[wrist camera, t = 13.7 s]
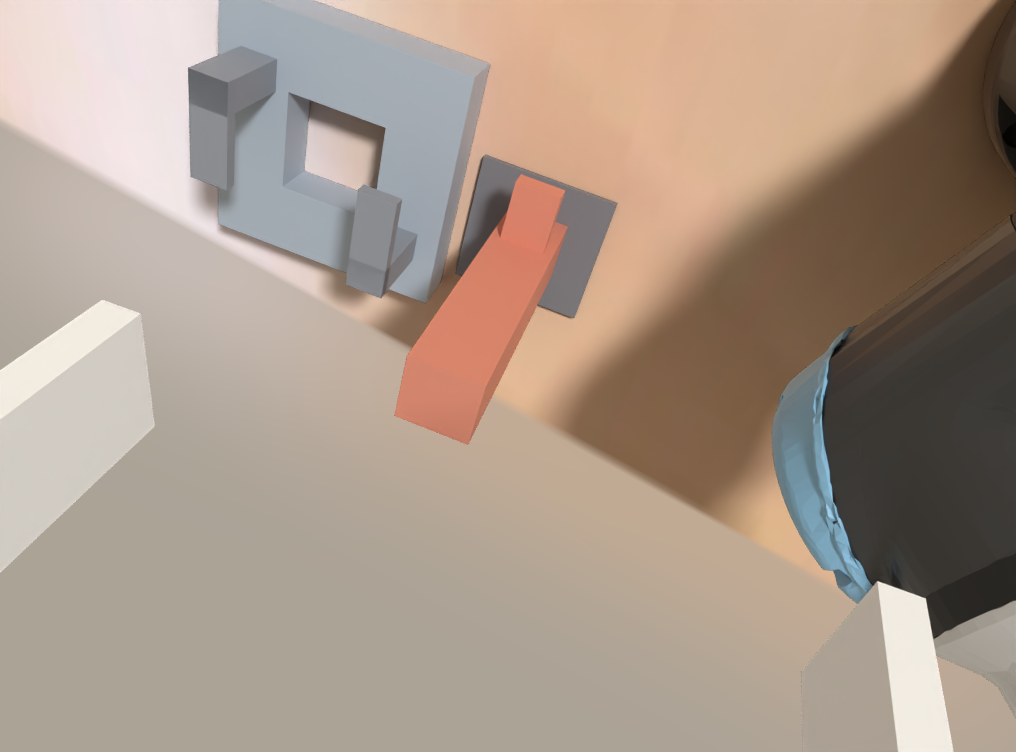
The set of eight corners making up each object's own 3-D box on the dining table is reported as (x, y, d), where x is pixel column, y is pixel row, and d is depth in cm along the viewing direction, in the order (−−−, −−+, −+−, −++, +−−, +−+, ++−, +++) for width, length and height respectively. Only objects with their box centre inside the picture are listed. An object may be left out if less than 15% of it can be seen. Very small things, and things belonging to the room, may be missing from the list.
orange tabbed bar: (526, 151, 47) (420, 290, 33) (586, 173, 47) (505, 322, 33) (484, 300, 55) (384, 465, 41) (536, 320, 54) (453, 493, 40)
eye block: (490, 63, 45) (442, 104, 39) (440, 283, 55) (396, 344, 49) (246, -24, 46) (161, 1, 40) (241, 207, 56) (172, 257, 50)
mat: (617, 203, 48) (616, 205, 48) (575, 315, 54) (573, 318, 53) (485, 154, 49) (483, 156, 48) (457, 270, 54) (455, 273, 54)
